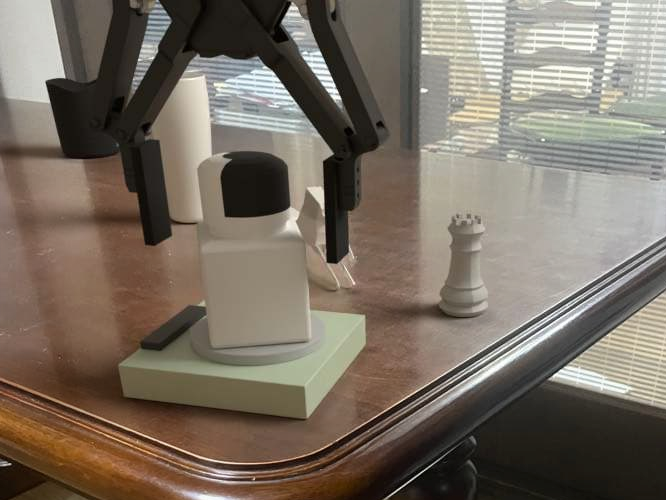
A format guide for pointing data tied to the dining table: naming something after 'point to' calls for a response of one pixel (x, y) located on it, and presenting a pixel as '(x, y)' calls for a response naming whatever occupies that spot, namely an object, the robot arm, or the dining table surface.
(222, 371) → the scale
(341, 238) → the robot arm
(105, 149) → the pen holder
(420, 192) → the dining table surface
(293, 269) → the medicine bottle
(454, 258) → the rook chess piece
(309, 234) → the white angular pronged piece
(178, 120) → the drinking glass
